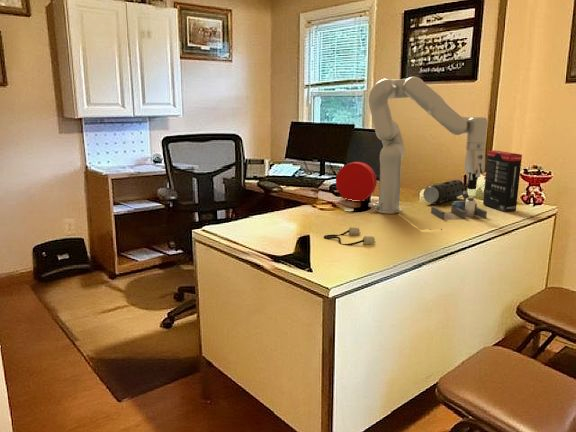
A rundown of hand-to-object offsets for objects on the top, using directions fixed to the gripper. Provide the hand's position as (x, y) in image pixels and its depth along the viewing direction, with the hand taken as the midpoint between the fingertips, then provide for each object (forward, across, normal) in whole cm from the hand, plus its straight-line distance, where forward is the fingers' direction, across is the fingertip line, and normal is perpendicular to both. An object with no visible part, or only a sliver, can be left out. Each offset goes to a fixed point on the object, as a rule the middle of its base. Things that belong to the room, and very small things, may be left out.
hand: (471, 188), depth 208 cm
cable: (+14, -30, +60) cm, 68 cm away
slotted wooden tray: (+13, +1, +5) cm, 14 cm away
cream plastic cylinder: (+12, 0, 0) cm, 12 cm away
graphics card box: (+13, +18, -23) cm, 32 cm away
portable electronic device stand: (+13, +17, -7) cm, 23 cm away
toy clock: (+13, +41, +42) cm, 60 cm away
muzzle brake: (+13, +36, -3) cm, 38 cm away
